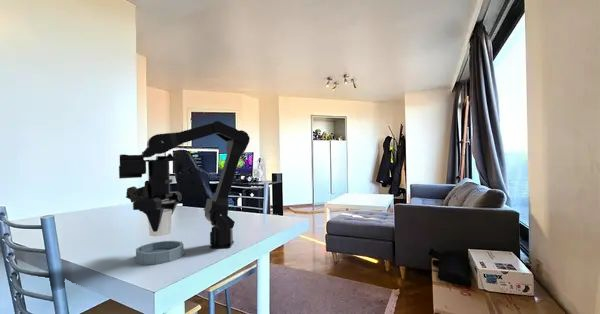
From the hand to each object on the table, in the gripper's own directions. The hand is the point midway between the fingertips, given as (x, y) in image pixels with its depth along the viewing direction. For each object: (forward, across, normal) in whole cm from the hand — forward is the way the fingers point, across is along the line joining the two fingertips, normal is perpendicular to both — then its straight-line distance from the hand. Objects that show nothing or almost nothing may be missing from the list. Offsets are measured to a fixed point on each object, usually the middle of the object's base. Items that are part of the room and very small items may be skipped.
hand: (160, 228), depth 87 cm
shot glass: (+2, 0, 0) cm, 2 cm away
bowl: (+8, 0, 0) cm, 8 cm away
